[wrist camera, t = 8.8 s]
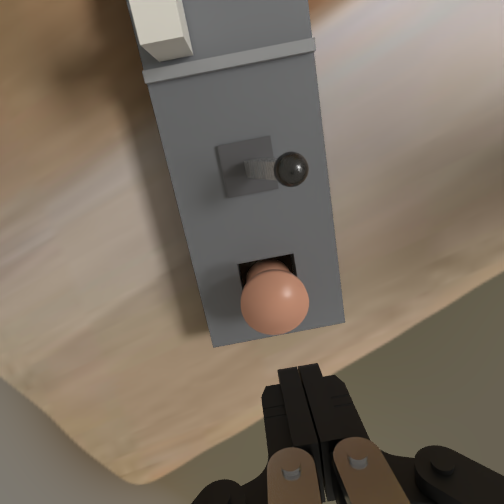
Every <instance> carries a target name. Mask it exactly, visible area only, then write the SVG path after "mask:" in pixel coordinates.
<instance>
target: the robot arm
mask: <svg viewBox="0 0 504 504" xmlns="http://www.w3.org/2000/svg"><path fill="white" fill-rule="evenodd" d="M278 377H279V383H280V384H277V385H271V386H266V387H265V390H264V392H263V394H262V397H261V398H262V406H263V414H264V422H265V431H266V438H267V446H268V463H267V465H266V467H265V469H264V471H263V472H262V473H261V474H260V475H259V476H258V477H257V478H255V479H254V480H252V481H250V482H248V483H247V484H245V485H242V486H240V485H239V484H238V483H236V482H234V481H232V480H225V479H224V480H218V481H215V482H212V483H211V484H209V485H207V486H206V487H205V488H204V489H203V490H202V491H201V492H200V494H199V495H198V496H197V497H196V499H195V500H194V501H193V502H192V504H322V503H323V502H325V494H324V490H325V493H326V497H327V501H334V500H336V503H337V504H504V476H502V475H501V474H498V473H497V472H495V471H492V470H491V469H489V468H487V467H485V466H483V465H481V464H479V463H477V462H475V461H473V460H471V459H469V458H467V457H465V456H463V455H462V454H459V453H458V452H456V451H454V450H452V449H449V448H446V447H442V446H427V447H424V448H422V449H420V450H419V451H418V452H417V454H416V455H415V458H409V457H401V456H394V455H391V454H388V453H385V452H383V451H382V450H380V449H379V448H378V447H377V445H376V444H374V443H373V442H371V440H370V439H369V437H368V435H367V432H366V430H365V428H364V426H363V423H362V421H361V419H360V417H359V415H358V412H357V410H356V409H355V406H354V404H353V401H352V399H351V397H350V395H349V392H348V390H347V388H346V386H345V383H344V382H342V381H341V380H340V379H339V378H338V377H337V376H335V375H331V376H325V377H323V376H322V373H321V371H320V368H319V365H318V363H315V364H309V365H303V366H298V369H297V367H291V368H285V369H279V370H278Z"/></svg>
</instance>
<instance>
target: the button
mask: <svg viewBox="0 0 504 504" xmlns="http://www.w3.org/2000/svg"><path fill="white" fill-rule="evenodd" d="M308 308H309V297H308V293H307V291H306V289H305V286H304V285H303V283H302V282H301V280H300V279H299V278H298V277H297V276H295V275H294V274H292V273H291V272H290V270H289V269H288V267H287V266H286V265H285V264H284V263H282V262H281V261H279V260H276V259H264V260H261V261H258V262H257V263H255V264H254V265H253V266H252V267H251V268H250V269H249V271H248V273H247V277H246V285H245V286H244V288H243V290H242V294H241V312H242V315H243V317H244V319H245V321H246V322H247V323H248V325H249V326H250V327H252V328H253V329H254V330H256V331H258V332H260V333H263V334H267V335H279V334H284V333H287V332H289V331H291V330H293V329H294V328H296V327H297V326H298V325H299V324H300V323H301V322H302V321H303V320H304V318H305V316H306V315H307V312H308Z"/></svg>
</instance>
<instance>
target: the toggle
mask: <svg viewBox="0 0 504 504" xmlns="http://www.w3.org/2000/svg"><path fill="white" fill-rule="evenodd" d="M244 165H245V170H246V176H247V178H255V179H266V180H277V181H278V182H279V183H280V184H281V185H283V186H286V187H296V186H298V185H300V184H302V183H303V182H304V181H305V179H306V178H307V176H308V172H309V166H308V162H307V160H306V159H305V157H304V156H303V155H301V154H300V153H297V152H293V151H290V152H286V153H283V154H282V155H280V156H279V157H278V158H256V159H252V160H248V161H244Z"/></svg>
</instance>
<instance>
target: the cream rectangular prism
mask: <svg viewBox="0 0 504 504" xmlns="http://www.w3.org/2000/svg"><path fill="white" fill-rule="evenodd" d="M129 3H130V7H131V11H132V15H133V19H134V23H135V27H136V31H137V35H138V39H139V43H140V45H141V46H142V47H143V48H144V49H145V50H146V51H147V52H149V53H150V54H151V55H152V56H153V57H154V58H155V59H156V60H158V61H159V62H162V61H167V60H172V59H177V58H182V57H187V56H193V51H192V46H191V41H190V37H189V32H188V27H187V22H186V18H185V13H184V8H183V3H182V0H129Z"/></svg>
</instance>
